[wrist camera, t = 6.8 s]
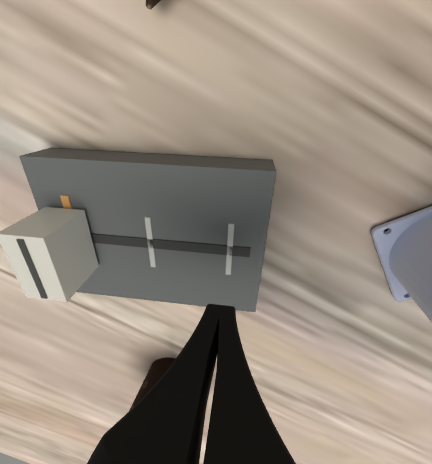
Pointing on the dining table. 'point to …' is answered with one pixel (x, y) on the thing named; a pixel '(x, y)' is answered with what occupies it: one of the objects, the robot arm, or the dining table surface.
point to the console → (164, 221)
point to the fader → (50, 252)
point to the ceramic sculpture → (151, 3)
